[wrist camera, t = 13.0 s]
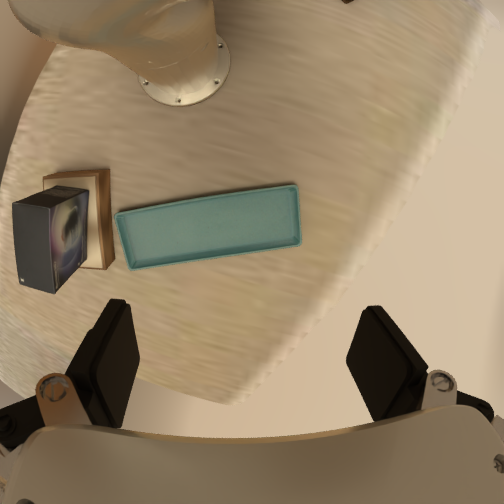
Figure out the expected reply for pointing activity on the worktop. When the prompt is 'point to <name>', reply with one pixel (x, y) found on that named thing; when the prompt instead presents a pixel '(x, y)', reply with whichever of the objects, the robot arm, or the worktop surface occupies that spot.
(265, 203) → the shallow long dish
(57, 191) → the small box
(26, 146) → the worktop surface
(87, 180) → the brown rectangular tray
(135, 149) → the worktop surface
